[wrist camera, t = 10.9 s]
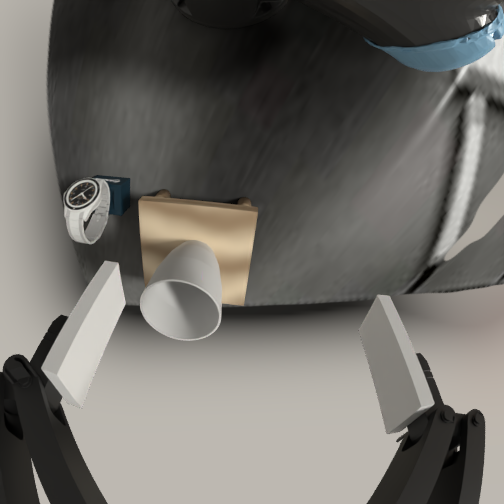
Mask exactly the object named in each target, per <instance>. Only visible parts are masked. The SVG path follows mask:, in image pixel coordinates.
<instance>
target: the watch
mask: <svg viewBox="0 0 504 504" xmlns="http://www.w3.org/2000/svg"><path fill="white" fill-rule="evenodd" d="M64 205H65V209H64V217H65V218H66V224H67V230H68V233H69V235H70V236H71V238H72V239H73V240H74V241H76V242H81V243H86V244H93V243H95V242H96V241H97V239H99V238H100V236H101V235H102V233H103V230H104V228H105V226H106V224H107V220H108V217H109V216H108V214H112V215H119V216H122V215H123V214H124V212H125V211H126V210H127V209H128V208H129V207H130V178H121V177H111V176H100V175H97V176H95V177H93V178H83V179H80V180H78V181H76V182H74V183H73V184H72V185H71V186H70V187H69V188H68V189H67V191H66V192H65V193H64ZM92 212H95V214H93V215H92V218H91V220H90V223H89V225H88V227H87V229H86V230H85V233H84V227H83V220H84V221H87V220H88V218H89V216H90V214H91V213H92Z"/></svg>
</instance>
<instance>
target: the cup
mask: <svg viewBox="0 0 504 504" xmlns="http://www.w3.org/2000/svg"><path fill="white" fill-rule="evenodd" d="M221 305H222V284H221V277H220V269H219V264H218V262H217V259H216V257H215V254H214V252H213V250H212V249H211V247H210V246H208V245H207V244H206V243H204V242H202V241H198V240H189V241H186V242H184V243H182V244H181V245H179V246H178V247H176V248H175V249H173V250H172V251H171V252H170V253H169V254H168V256H167V257H166V258H165V259H164V260H163V261H162V263H161V264H160V265H159V266H158V267H157V269H156V271H155V272H154V274H153V276H152V277H151V279H150V281H149V283H148V284H147V286H146V288H145V290H144V292H143V293H142V296H141V299H140V308H141V312H142V314H143V316H144V318H145V319H146V321H147V322H148V323H149V324H150V325H151V326H152V327H153V328H154V329H155V330H157V331H158V332H160V333H162V334H164V335H166V336H168V337H171V338H174V339H179V340H198V339H202V338H205V337H207V336H209V335H211V334H212V333H213V332H215V330H216V329H217V328H218V326H219V324H220V322H221Z"/></svg>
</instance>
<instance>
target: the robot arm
mask: <svg viewBox="0 0 504 504" xmlns="http://www.w3.org/2000/svg"><path fill="white" fill-rule="evenodd" d="M171 1H172V3H173V4H174V5H175V7H176V8H177V9H178V10H179V11H180V12H181V13H182V14H183V15H184V16H186V17H187V18H189V19H190V20H192V21H194V22H196V23H199V24H201V25H204V26H208V27H213V28H225V29H229V28H241V27H246V26H250V25H254V24H257V23H260V22H262V21H264V20H266V19H268V18H270V17H272V16H273V15H275V14H276V13H277V12H279V11H280V10H281V9H282V8H283V7H284V6H285V4H286V3H287V2H288V0H171ZM296 1H298V2H300V3H302V4H304V5H307V6H309V7H311V8H313V9H315V10H317V11H319V12H321V13H323V14H324V15H326V16H328V17H330V18H332V19H334V20H336V21H337V22H339V23H341V24H343V25H344V26H346V27H348V28H349V29H351V30H353V31H354V32H356V33H357V34H359V35H361V36H362V37H363V38H364V40H365V41H366V42H368V43H369V44H370V45H372V46H374V47H376V48H379V49H382V50H384V51H385V52H387V53H388V54H390V55H391V56H393V57H394V58H395V59H397V60H398V61H400V62H401V63H403V64H404V65H406V66H408V67H411V68H415V69H418V70H422V71H427V72H440V71H447V70H452V69H456V68H459V67H462V66H465V65H468V64H470V63H472V62H474V61H476V60H478V59H480V58H481V57H483V56H484V55H486V54H487V53H488V52H490V51H491V50H492V49H493V48H494V47H495V42H494V40H496V39H501V38H502V36H503V34H504V14H503V10H502V7H501V6H500V4H501V3H503V2H504V0H296ZM125 304H126V303H125V298H124V293H123V288H122V282H121V276H120V270H119V264H118V263H117V262H110V261H104V263H103V264H102V266H101V267H100V269H99V270H98V272H97V273H96V275H95V276H94V278H93V279H92V281H91V282H90V284H89V285H88V287H87V288H86V290H85V291H84V293H83V294H82V296H81V298H80V299H79V301H78V303H77V304H76V306H75V307H74V309H73V311H72V312H71V314H70V316H69V317H67V316H64V315H60V316H59V317H58V318H57V319H56V320H54V321H53V322H52V324H51V326H50V327H49V329H48V332H47V333H46V334H45V336H44V337H43V338H44V339H43V340H42V341H41V343H40V345H39V346H38V348H37V350H36V352H35V354H34V355H33V358H32V359H31V361H30V363H29V361H28V360H27V359H26V358H25V357H24V356H23V355H19V354H16V355H13V356H11V357H9V358H8V359H7V360H6V361H5V363H4V366H3V372H0V504H40V502H39V498H38V494H37V489H36V485H35V480H34V474H33V468H32V462H31V458H32V461H33V464H34V467H35V469H36V472H37V474H38V477H39V479H40V482H41V484H42V486H43V488H44V491H45V493H46V495H47V497H48V500H49V502H50V504H107V502H106V500H105V498H104V497H103V495H102V493H101V492H100V490H99V488H98V486H97V484H96V483H95V481H94V479H93V477H92V475H91V473H90V471H89V469H88V467H87V466H86V463H85V461H84V459H83V457H82V455H81V453H80V451H79V448H78V446H77V444H76V441H75V439H74V437H73V434H72V432H71V429H70V427H69V424H68V421H67V419H66V416H65V414H64V410H63V408H62V405H61V404H60V401H61V399H62V397H63V399H64V400H65V401H66V402H67V403H68V404H71V405H73V406H76V407H79V408H82V407H83V404H84V401H85V398H86V396H87V393H88V390H89V388H90V385H91V382H92V380H93V377H94V374H95V372H96V370H97V367H98V365H99V362H100V360H101V357H102V355H103V353H104V350H105V348H106V345H107V343H108V341H109V338H110V336H111V334H112V332H113V330H114V327H115V325H116V323H117V321H118V319H119V316H120V314H121V312H122V310H123V308H124V306H125ZM358 331H359V334H360V337H361V340H362V344H363V347H364V350H365V354H366V357H367V360H368V364H369V367H370V371H371V374H372V378H373V381H374V385H375V388H376V393H377V396H378V400H379V404H380V408H381V412H382V416H383V420H384V424H385V429H386V433H387V434H391V433H396V432H400V431H402V430H403V429H404V428H406V427H407V428H408V432H406V433H405V434H404V435H402V436H401V437H399V438H398V439H397V441H396V442H399V441H400V440H402V439H403V440H402V442H401V443H400V446H399V448H398V450H397V452H396V455H395V456H394V458H393V460H392V462H391V464H390V466H389V468H388V469H387V471H386V473H385V475H384V477H383V478H382V480H381V482H380V483H379V485H378V487H377V488H376V490H375V492H374V493H373V495H372V496H371V498H370V500H369V501H368V503H367V504H479V498H480V492H481V485H482V476H483V466H484V452H485V420H484V416H483V414H482V413H481V412H480V411H479V410H477V409H473V410H471V411H470V412H468V413H467V414H458V413H455V412H454V410H453V409H452V408H451V407H450V406H448V405H444V403H443V401H442V399H441V396H440V393H439V390H438V388H437V385H436V383H435V380H434V378H433V375H432V372H430V368H429V365H428V363H427V361H426V360H425V358H424V357H423V356H422V355H421V354H420V353H417V354H416V353H415V351H414V348H413V346H412V344H411V341H410V339H409V337H408V335H407V332H406V330H405V328H404V326H403V323H402V321H401V319H400V317H399V315H398V313H397V311H396V308H395V306H394V304H393V302H392V300H391V298H390V296H386V295H377V297H376V299H375V301H374V303H373V305H372V307H371V308H370V310H369V312H368V314H367V316H366V317H365V319H364V321H363V323H362V325H361V326H360V328H359V330H358ZM458 446H460V450H459V451H457V447H458Z"/></svg>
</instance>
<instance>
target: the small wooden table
mask: <svg viewBox="0 0 504 504" xmlns="http://www.w3.org/2000/svg"><path fill="white" fill-rule="evenodd" d="M170 197H171V195H170V192H169V191H168V190H165V189H163V190H160V191H159V192H158V194H157V195H156V196H155V197H150V196H142V197H141V198H140V199H139V222H140V238H141V250H142V261H143V271H144V280H145V288H146V286H147V284H148V283H149V281H150V279H151V277H152V276H153V274H154V272H155V271H156V269H157V267H158V266H159V265H160V264H161V263H162V261H163V260H164V259H165V258H166V257H167V256H168V254H169V253H170V252H171V251H172V250H173V249H175V248H176V247H178V246H179V245H181V244H182V243H184V242H186V241H189V240H198V241H202V242H204V243H206V244H207V245H208V246H210V247H211V249H212V250H213V252H214V254H215V257H216V259H217V262H218V264H219V269H220V277H221V284H222V303H225V304H234V305H244V300H245V293H246V287H247V280H248V274H249V267H250V261H251V254H252V248H253V241H254V235H255V228H256V221H257V215H258V207H252V206H251V201H250V199H248V198H246V197H242V198H240V199H239V200H238V204H237V205H235V204H226V203H216V202H207V201H197V200H186V199H175V198H170Z"/></svg>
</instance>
